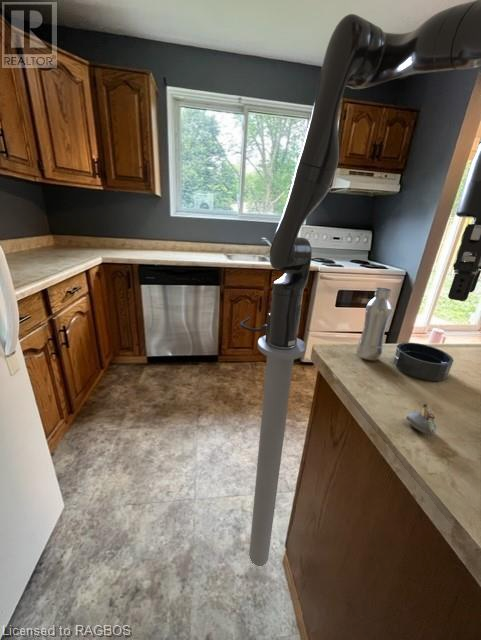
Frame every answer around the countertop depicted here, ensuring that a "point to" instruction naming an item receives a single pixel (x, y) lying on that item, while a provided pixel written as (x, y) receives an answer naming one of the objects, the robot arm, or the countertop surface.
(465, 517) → the countertop surface
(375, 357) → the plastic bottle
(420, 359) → the pan
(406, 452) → the countertop surface
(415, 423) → the figurine
